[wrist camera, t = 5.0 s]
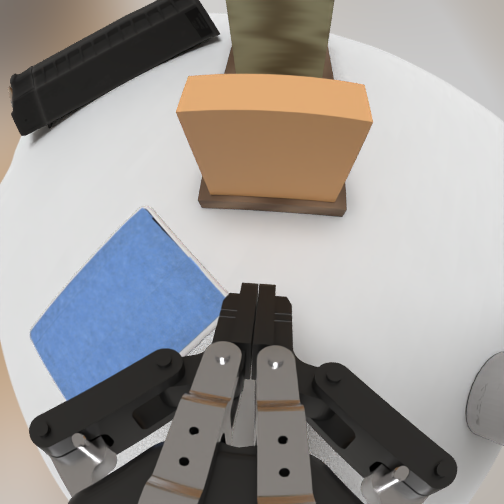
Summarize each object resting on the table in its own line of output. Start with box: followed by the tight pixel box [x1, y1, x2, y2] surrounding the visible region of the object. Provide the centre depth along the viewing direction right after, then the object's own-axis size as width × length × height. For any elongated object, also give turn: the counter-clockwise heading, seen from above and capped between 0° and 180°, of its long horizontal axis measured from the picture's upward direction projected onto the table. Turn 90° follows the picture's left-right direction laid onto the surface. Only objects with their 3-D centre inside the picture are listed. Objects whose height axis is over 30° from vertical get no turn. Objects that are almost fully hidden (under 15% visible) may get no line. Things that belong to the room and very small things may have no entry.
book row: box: [198, 0, 347, 217], centre depth 20 cm, size 12×26×14 cm, turn 175°
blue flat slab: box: [30, 206, 229, 401], centre depth 22 cm, size 19×13×1 cm, turn 134°
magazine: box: [8, 0, 220, 136], centre depth 25 cm, size 17×3×30 cm
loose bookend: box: [176, 74, 373, 202], centre depth 18 cm, size 10×3×10 cm, turn 85°
